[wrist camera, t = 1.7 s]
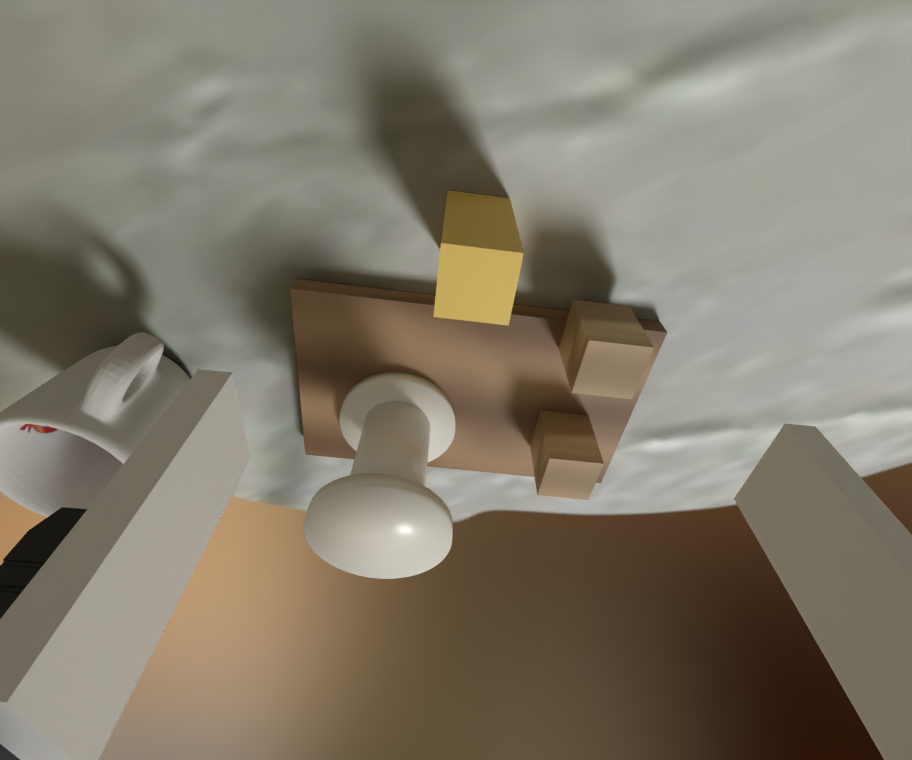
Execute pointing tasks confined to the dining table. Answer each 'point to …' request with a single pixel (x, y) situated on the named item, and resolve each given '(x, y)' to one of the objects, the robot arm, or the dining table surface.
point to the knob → (386, 481)
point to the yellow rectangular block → (478, 259)
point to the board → (481, 377)
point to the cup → (85, 424)
